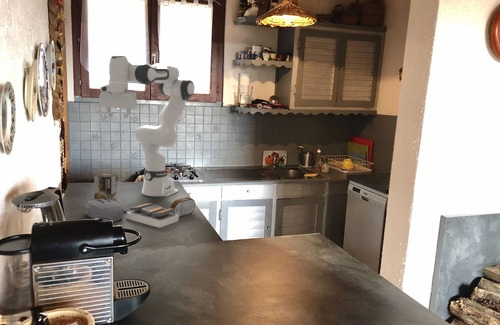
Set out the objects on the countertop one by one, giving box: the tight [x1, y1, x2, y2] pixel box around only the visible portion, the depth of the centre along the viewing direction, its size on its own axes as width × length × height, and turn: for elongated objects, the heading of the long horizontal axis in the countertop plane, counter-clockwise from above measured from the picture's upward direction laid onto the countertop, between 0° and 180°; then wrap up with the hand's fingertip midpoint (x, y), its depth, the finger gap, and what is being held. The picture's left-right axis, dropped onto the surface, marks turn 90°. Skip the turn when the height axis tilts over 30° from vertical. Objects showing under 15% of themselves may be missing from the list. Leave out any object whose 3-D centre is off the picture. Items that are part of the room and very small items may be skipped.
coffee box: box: [93, 173, 118, 202], centre depth 205 cm, size 9×6×16 cm
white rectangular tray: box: [123, 209, 180, 229], centre depth 192 cm, size 13×28×3 cm, turn 61°
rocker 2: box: [141, 203, 165, 215], centre depth 189 cm, size 10×5×2 cm, turn 151°
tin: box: [169, 196, 196, 218], centre depth 200 cm, size 15×3×8 cm, turn 145°
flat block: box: [152, 208, 175, 216], centre depth 186 cm, size 10×5×2 cm, turn 151°
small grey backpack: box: [83, 198, 125, 223], centre depth 189 cm, size 15×8×20 cm
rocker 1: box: [129, 202, 154, 211], centre depth 192 cm, size 10×5×2 cm, turn 151°
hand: (118, 117), depth 202 cm, fingers open, 8 cm apart
